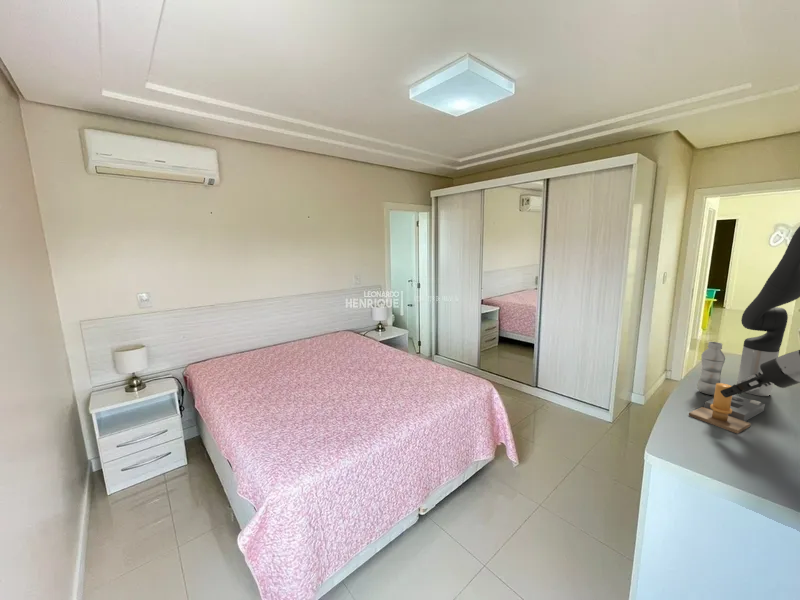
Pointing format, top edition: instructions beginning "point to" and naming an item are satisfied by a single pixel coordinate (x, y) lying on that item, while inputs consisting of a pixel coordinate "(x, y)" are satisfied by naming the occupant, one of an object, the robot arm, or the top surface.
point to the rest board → (730, 424)
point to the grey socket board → (741, 407)
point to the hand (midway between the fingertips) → (729, 391)
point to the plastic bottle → (711, 368)
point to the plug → (721, 403)
